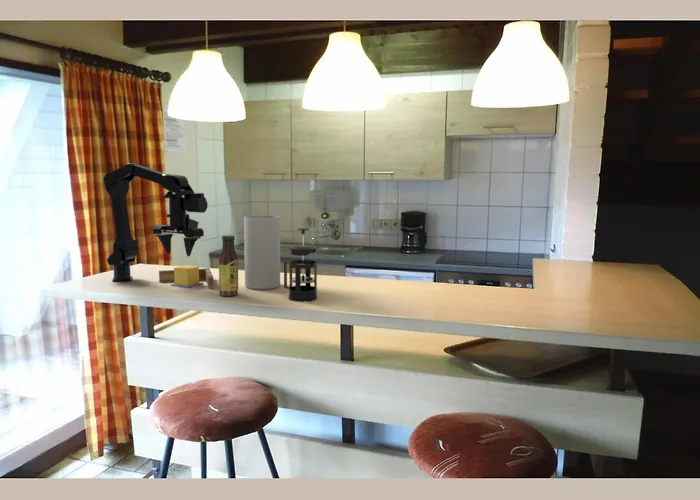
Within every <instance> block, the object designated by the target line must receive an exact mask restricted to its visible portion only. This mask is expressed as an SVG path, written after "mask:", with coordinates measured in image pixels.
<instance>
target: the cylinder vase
mask: <svg viewBox="0 0 700 500" xmlns="http://www.w3.org/2000/svg"><path fill="white" fill-rule="evenodd" d="M243 233H244V235H243V236H244V237H243V238H244V240H243V242H244V247H243V248H244V286H245V287H246V288H247V289H250V290H260V291H261V290H265V291H266V290H273V289H276V288H277V289H278V287H280V285H281V217H280V216H279V215H264V214H263V215H260V214H259V215H246V216H243Z"/></svg>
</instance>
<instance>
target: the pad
mask: <svg viewBox="0 0 700 500" xmlns="http://www.w3.org/2000/svg"><path fill="white" fill-rule="evenodd" d="M200 285H201V286H202V285H204V282H200V281H199V283H197V284H193V285H189V286H184V285H176V284H175V283H171V284H170V286H172V287H178V288H187V289H190V288H194V287H196V286H200Z"/></svg>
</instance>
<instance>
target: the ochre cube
mask: <svg viewBox="0 0 700 500" xmlns="http://www.w3.org/2000/svg"><path fill="white" fill-rule="evenodd" d="M199 269H200V267H199V266H196V265H188V264H184V265H181V266H176V267H173V270H174V281H173V282H174V284H176V285H184V286H189V285H193V284H197V283H199V282H200V280H199Z"/></svg>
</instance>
